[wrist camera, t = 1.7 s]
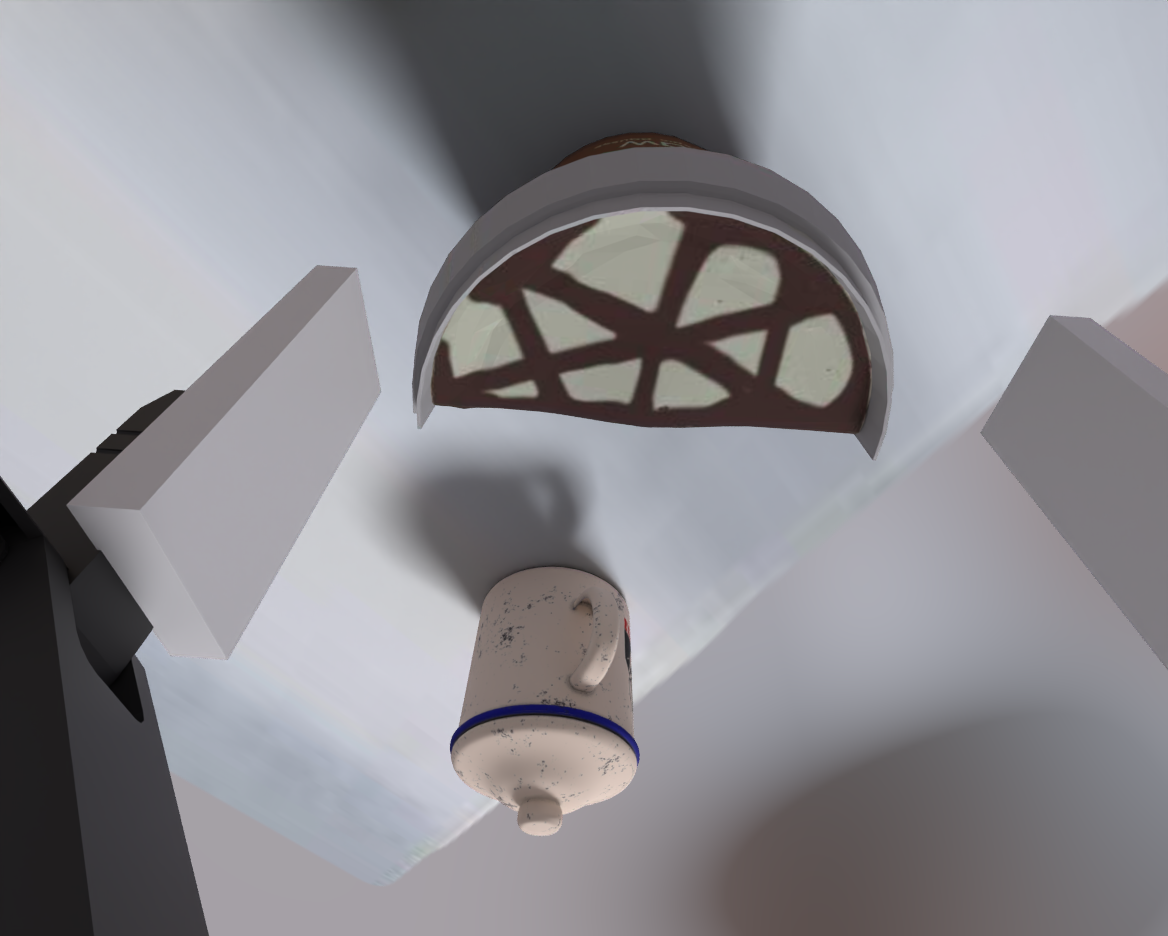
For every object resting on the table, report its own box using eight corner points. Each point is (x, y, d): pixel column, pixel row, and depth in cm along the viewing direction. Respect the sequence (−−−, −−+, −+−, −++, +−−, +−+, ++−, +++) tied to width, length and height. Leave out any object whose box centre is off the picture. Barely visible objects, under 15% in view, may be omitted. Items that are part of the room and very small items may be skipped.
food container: (855, 104, 18) (1034, 199, 11) (797, 294, 22) (897, 462, 15) (456, 72, 18) (347, 145, 11) (468, 269, 22) (395, 428, 14)
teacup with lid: (594, 668, 39) (591, 876, 30) (460, 632, 37) (413, 844, 28) (686, 557, 32) (718, 785, 23) (527, 504, 30) (493, 734, 21)
